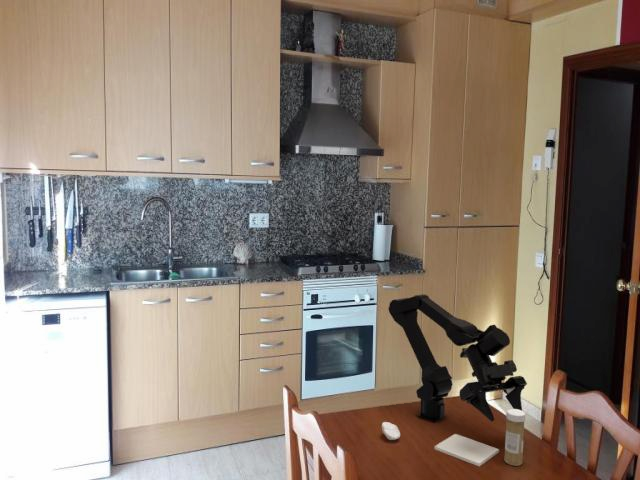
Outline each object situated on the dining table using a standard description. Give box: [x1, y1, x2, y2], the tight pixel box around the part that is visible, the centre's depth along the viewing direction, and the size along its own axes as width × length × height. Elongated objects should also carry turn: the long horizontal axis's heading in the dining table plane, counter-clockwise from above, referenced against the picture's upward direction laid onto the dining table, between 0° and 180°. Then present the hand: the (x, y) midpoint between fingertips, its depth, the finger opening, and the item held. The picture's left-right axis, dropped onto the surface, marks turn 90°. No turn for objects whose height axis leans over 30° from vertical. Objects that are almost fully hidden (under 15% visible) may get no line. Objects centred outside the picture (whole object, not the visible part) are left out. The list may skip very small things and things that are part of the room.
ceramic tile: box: [434, 433, 500, 468], centre depth 148 cm, size 13×11×1 cm
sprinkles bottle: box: [503, 408, 526, 467], centre depth 141 cm, size 5×5×14 cm
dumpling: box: [381, 421, 401, 441], centre depth 154 cm, size 7×5×4 cm
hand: (507, 418), depth 144 cm, fingers open, 9 cm apart
